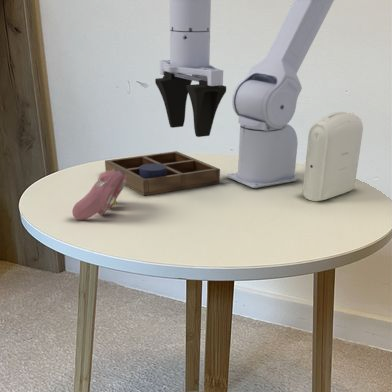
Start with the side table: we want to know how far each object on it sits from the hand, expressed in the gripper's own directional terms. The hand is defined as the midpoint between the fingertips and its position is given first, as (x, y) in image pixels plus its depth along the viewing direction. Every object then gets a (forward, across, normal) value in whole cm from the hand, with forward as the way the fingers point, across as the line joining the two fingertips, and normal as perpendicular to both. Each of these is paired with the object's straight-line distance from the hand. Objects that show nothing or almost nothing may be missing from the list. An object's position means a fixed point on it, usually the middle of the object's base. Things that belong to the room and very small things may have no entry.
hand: (189, 131), depth 92 cm
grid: (+9, -9, 0) cm, 13 cm away
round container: (+9, -6, -4) cm, 11 cm away
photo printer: (+10, +12, +19) cm, 24 cm away
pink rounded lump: (+10, +2, -16) cm, 19 cm away
